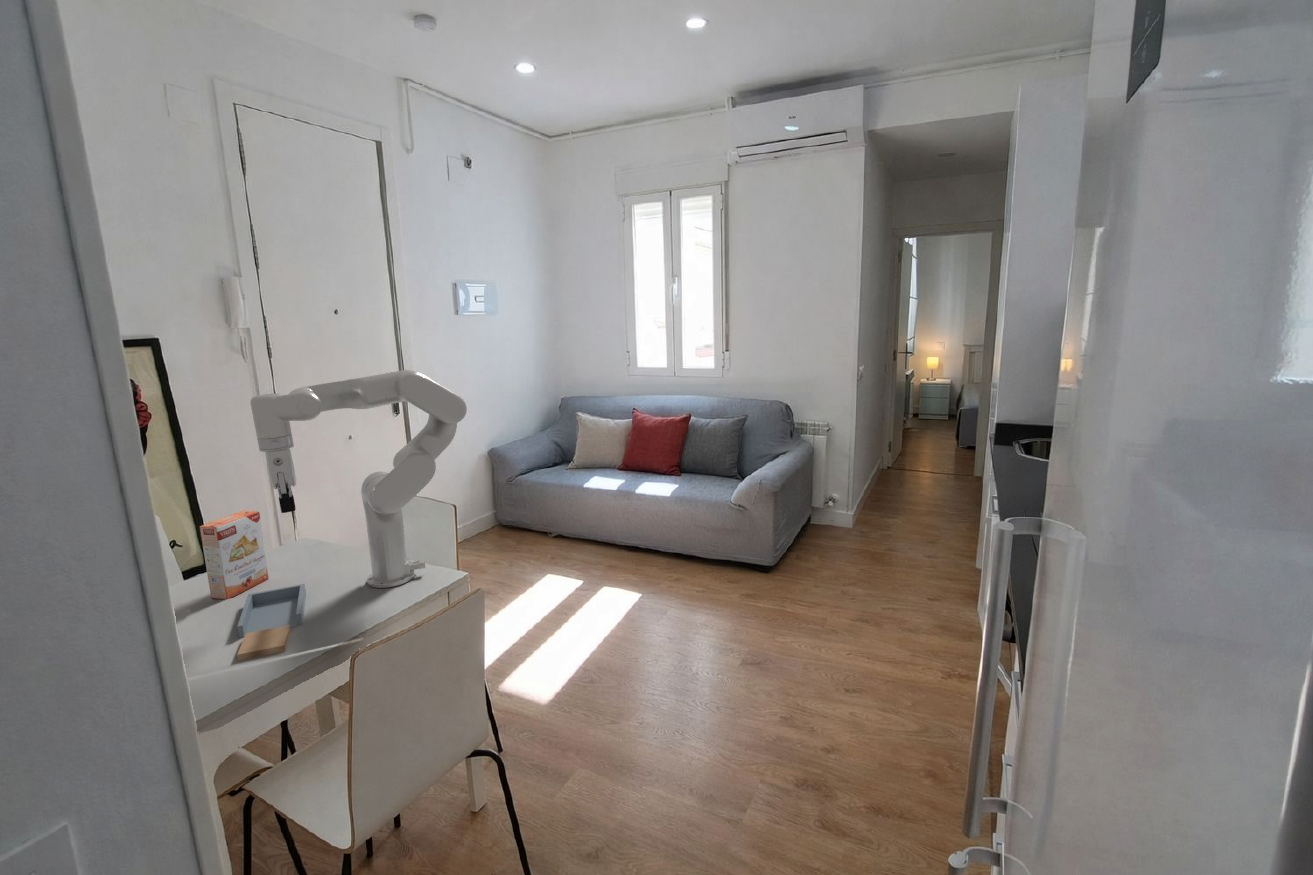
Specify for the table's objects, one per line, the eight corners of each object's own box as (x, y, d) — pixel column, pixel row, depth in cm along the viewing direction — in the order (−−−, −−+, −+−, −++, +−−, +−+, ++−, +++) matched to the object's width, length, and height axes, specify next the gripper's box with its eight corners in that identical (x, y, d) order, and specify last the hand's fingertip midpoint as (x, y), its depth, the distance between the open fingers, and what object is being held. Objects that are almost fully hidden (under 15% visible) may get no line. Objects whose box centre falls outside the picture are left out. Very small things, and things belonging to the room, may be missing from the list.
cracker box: (229, 600, 164) (216, 527, 160) (210, 599, 165) (197, 526, 161) (271, 578, 178) (260, 510, 173) (253, 577, 179) (242, 509, 175)
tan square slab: (291, 634, 147) (289, 624, 147) (285, 655, 138) (284, 645, 138) (247, 642, 144) (245, 633, 143) (238, 664, 135) (237, 654, 134)
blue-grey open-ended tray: (306, 595, 167) (304, 583, 166) (302, 626, 150) (300, 613, 149) (250, 606, 161) (248, 594, 160) (239, 639, 144) (237, 626, 144)
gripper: (292, 445, 150) (305, 516, 154) (293, 435, 163) (305, 500, 167) (256, 450, 146) (270, 522, 150) (260, 439, 159) (273, 506, 163)
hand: (288, 511), depth 159 cm, fingers closed
